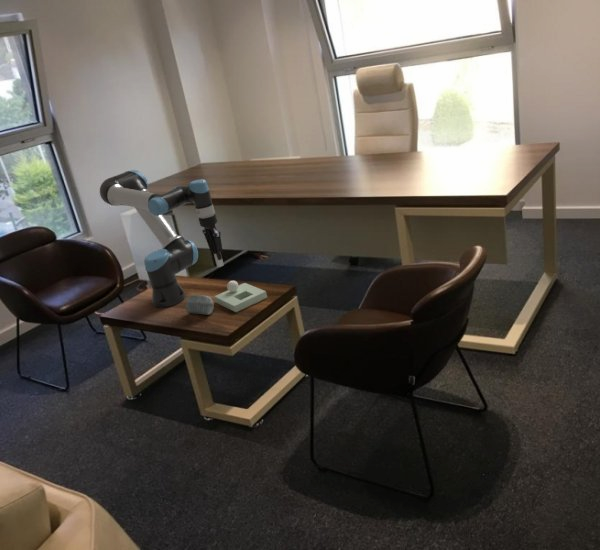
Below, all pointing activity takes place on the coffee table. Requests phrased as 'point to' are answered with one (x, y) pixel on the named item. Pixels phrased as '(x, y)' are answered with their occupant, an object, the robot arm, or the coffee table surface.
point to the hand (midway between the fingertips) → (220, 265)
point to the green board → (240, 297)
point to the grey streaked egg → (199, 304)
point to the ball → (232, 286)
